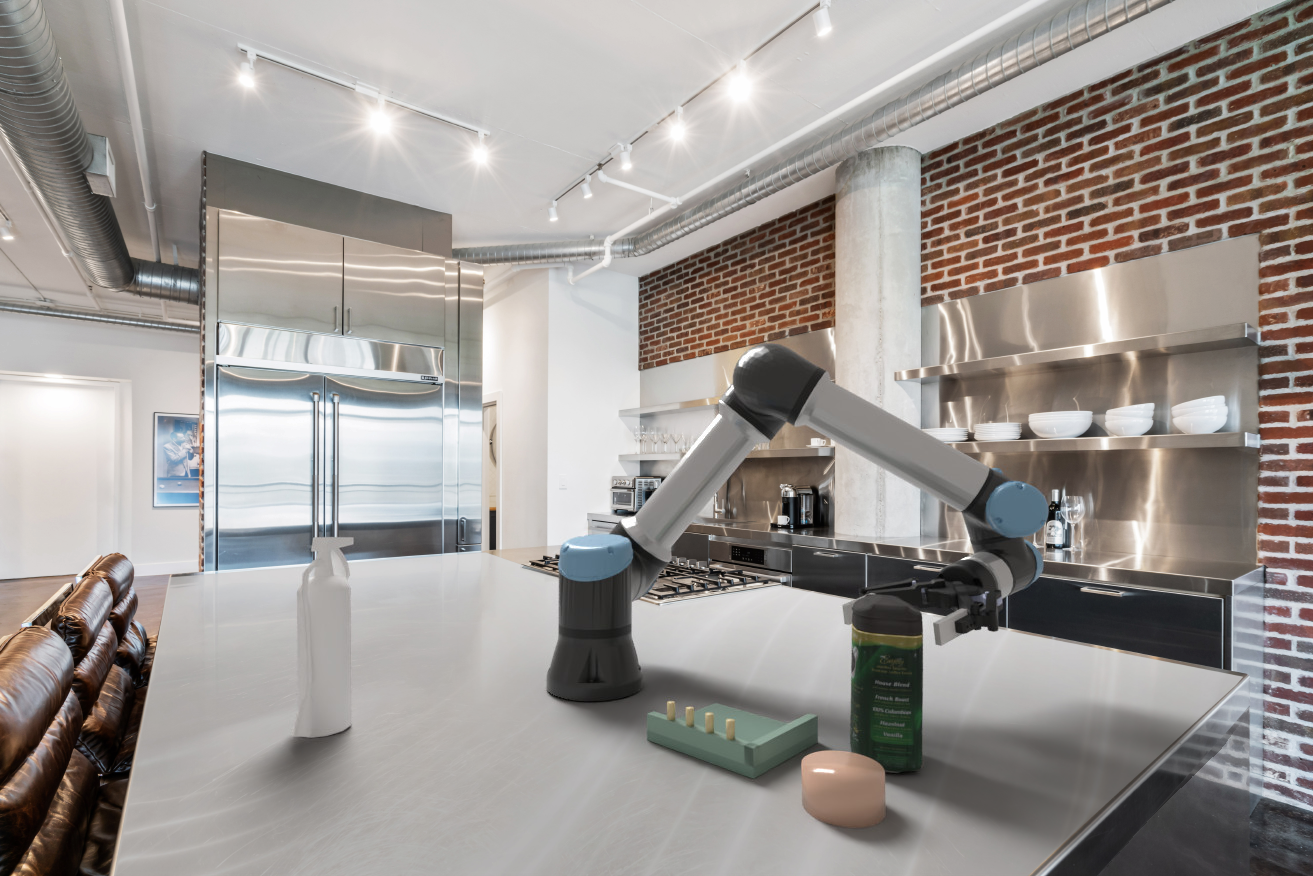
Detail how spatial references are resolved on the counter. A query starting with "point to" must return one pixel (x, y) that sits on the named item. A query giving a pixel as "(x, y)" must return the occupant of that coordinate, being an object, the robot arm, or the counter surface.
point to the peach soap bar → (843, 788)
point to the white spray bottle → (324, 642)
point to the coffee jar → (887, 682)
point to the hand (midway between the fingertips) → (888, 624)
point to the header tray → (732, 737)
